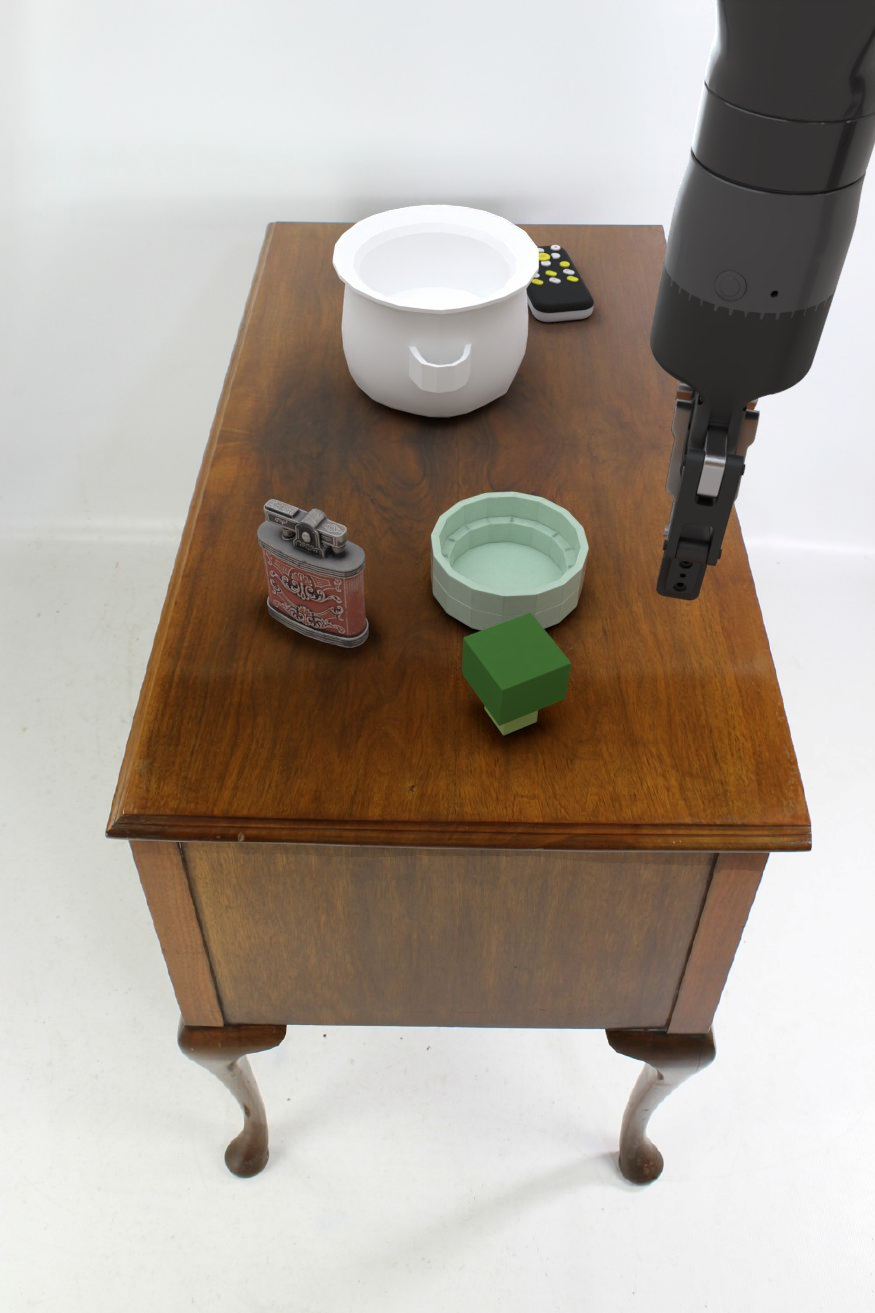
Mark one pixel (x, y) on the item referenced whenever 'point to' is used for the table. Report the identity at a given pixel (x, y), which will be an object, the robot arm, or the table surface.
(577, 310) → the remote control
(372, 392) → the pot
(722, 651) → the table surface
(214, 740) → the table surface
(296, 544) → the lighter
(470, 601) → the bowl
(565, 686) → the broccoli
